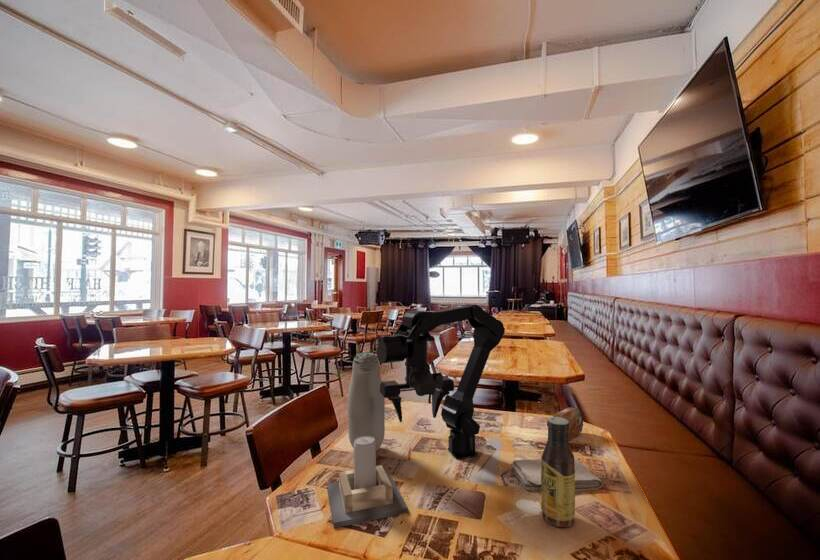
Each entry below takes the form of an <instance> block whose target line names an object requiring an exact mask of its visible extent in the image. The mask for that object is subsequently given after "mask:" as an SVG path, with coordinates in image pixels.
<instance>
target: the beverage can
mask: <svg viewBox="0 0 820 560" xmlns="http://www.w3.org/2000/svg"><path fill="white" fill-rule="evenodd" d="M376 460H377V451H376V443H375V439H374V438H373V437H371V436H361V437H358V438H356V439H355V440H354V448H353V470H354V488H355V490H356V489H362V488H367V487H373V486H376V466H377V461H376Z"/></svg>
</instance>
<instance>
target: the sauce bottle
mask: <svg viewBox="0 0 820 560" xmlns="http://www.w3.org/2000/svg"><path fill="white" fill-rule="evenodd" d="M546 421H547V422H546V427H547V441H546V444H545V446H544V449H543V452H542V455H541V458H540V459H541V492H540V494H541V495H540V496H541V497H540V499H541V500H540V501H541V502H540V503H541V504H540V505H541V512H542V517H543V519H544V520H545V521H546V522H547V523H548V524H550V525H551V526H553V527H556V528H557V527H559V528H568V527H571V526H573V525H574V523H575V516H576V490H575V469H574V466H575V465H574V459H575V455H574V453H573V450H572V449H571V447H570V446H569V442H570V441H569V440H568V430H569V421H568V420H566V419H564V418H561V417H553V416H551V417H548V418H547V419H546Z"/></svg>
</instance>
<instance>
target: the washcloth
mask: <svg viewBox="0 0 820 560" xmlns="http://www.w3.org/2000/svg"><path fill="white" fill-rule="evenodd" d="M574 465H575V466H574V469H575V491H588V490H589V491H590V490H591V491H592V490H598V489H599V490H600V489H601V488H602V487H603V486H604V483H603V481H602V480H601V479H600V478H599V477H597V476H596V475H595V474H594V473H593V472H591V471H590V470H588V469H587V467H585V465H584V464H582V462H580V461H579V459H577V458H574ZM511 467H512V469H513V471H514V472H513V473H514V475H515V477H516V478H517V479H518V480H519V482H520V483H521V485H522V486H523V488H524V489H525V490H526V491H529V492H535V493H541V458H537V459H536V458H535V459H516V460H513V461H512V462H511Z"/></svg>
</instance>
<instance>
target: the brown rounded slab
mask: <svg viewBox="0 0 820 560" xmlns="http://www.w3.org/2000/svg"><path fill="white" fill-rule="evenodd" d="M552 417H561V418H564V419H566V420H568V421H569V430H568V440H569V442H570V441H572V440H574V439H576V438H577V437H579V436H580V435H581V433H582V431H583V428H584V416H583V413H582V411H581V410H580V409H579V408H577V407H571V406H570V407H567V408H564V409H562V410H561V411H558V412H556V413H554V415H553V416H552Z"/></svg>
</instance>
